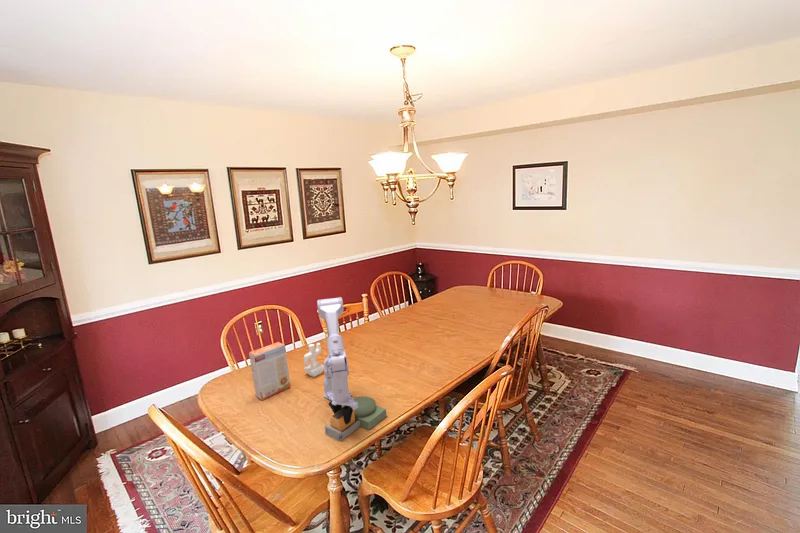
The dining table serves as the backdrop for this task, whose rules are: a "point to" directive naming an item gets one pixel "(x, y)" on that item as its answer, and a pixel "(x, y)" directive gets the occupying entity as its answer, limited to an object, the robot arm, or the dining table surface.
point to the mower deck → (360, 418)
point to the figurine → (313, 360)
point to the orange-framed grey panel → (341, 421)
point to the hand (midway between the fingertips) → (343, 420)
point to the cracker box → (269, 370)
